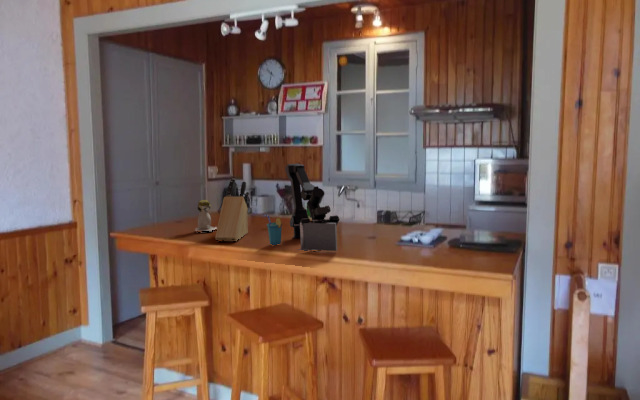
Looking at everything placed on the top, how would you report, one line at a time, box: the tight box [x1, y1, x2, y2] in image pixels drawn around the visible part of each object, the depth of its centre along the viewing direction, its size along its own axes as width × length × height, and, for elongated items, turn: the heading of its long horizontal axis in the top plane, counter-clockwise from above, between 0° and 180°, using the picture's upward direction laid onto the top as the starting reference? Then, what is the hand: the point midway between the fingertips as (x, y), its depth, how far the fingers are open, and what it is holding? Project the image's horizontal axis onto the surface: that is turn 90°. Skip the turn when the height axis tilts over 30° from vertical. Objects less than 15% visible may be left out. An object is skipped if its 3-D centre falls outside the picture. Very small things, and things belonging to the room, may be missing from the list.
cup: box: [261, 214, 283, 245], centre depth 239 cm, size 14×8×15 cm, turn 52°
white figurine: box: [194, 199, 217, 232], centre depth 280 cm, size 12×13×18 cm
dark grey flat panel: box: [300, 222, 338, 252], centre depth 220 cm, size 2×17×12 cm, turn 74°
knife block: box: [214, 178, 251, 242], centre depth 262 cm, size 11×35×31 cm, turn 174°
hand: (324, 237), depth 221 cm, fingers closed
